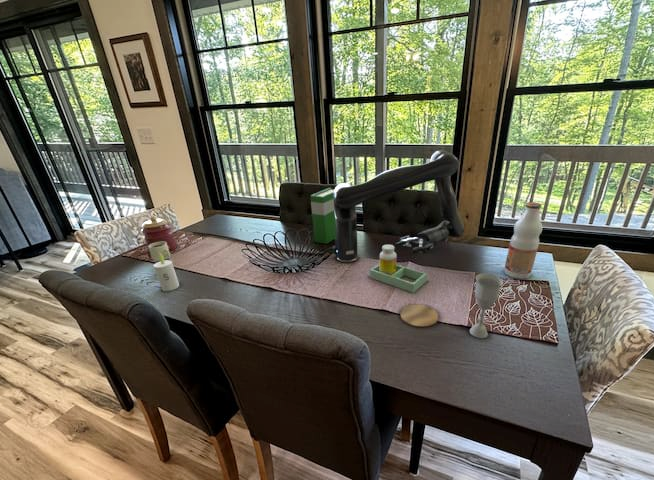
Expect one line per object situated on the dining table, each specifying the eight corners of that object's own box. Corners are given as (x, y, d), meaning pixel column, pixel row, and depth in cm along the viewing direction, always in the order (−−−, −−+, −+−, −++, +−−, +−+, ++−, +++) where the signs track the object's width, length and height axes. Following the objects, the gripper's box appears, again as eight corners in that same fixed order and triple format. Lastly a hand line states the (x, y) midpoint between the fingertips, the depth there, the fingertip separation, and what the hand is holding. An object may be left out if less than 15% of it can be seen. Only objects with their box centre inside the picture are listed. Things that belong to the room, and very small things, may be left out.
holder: (369, 277, 125) (369, 269, 124) (384, 268, 132) (384, 260, 130) (413, 292, 114) (413, 284, 112) (426, 281, 121) (427, 273, 119)
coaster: (393, 317, 101) (393, 316, 101) (411, 301, 109) (412, 300, 109) (427, 332, 94) (427, 331, 93) (444, 313, 102) (444, 312, 101)
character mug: (182, 269, 139) (173, 242, 133) (168, 277, 133) (159, 249, 127) (164, 266, 143) (155, 240, 137) (150, 273, 137) (140, 246, 131)
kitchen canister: (182, 247, 163) (172, 214, 155) (158, 256, 153) (146, 222, 145) (168, 243, 169) (158, 211, 161) (144, 251, 159) (131, 218, 151)
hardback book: (332, 230, 175) (329, 187, 164) (343, 232, 172) (341, 188, 161) (314, 241, 162) (310, 195, 151) (326, 243, 158) (323, 197, 147)
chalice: (462, 325, 96) (470, 274, 87) (483, 323, 96) (494, 272, 88) (473, 341, 89) (483, 287, 81) (496, 339, 90) (508, 285, 81)
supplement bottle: (395, 280, 122) (396, 250, 116) (378, 279, 123) (378, 249, 118) (396, 272, 128) (397, 243, 122) (380, 271, 129) (380, 243, 123)
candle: (162, 292, 121) (149, 258, 114) (162, 285, 127) (150, 252, 120) (179, 288, 124) (168, 254, 117) (179, 281, 129) (168, 248, 122)
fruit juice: (517, 281, 118) (535, 209, 105) (498, 270, 126) (512, 202, 113) (536, 276, 120) (555, 205, 107) (516, 266, 128) (532, 199, 115)
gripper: (416, 226, 139) (391, 235, 130) (444, 234, 129) (418, 245, 120) (415, 241, 142) (391, 252, 133) (442, 250, 132) (417, 262, 123)
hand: (404, 248), depth 127 cm, fingers open, 8 cm apart
